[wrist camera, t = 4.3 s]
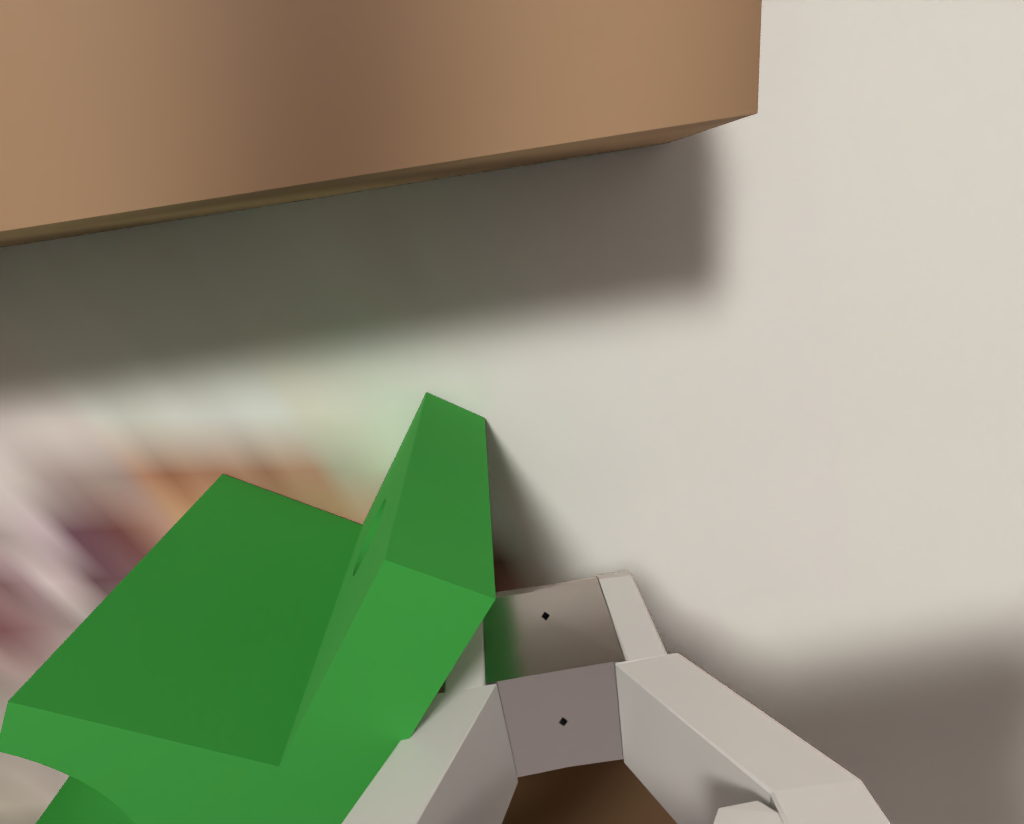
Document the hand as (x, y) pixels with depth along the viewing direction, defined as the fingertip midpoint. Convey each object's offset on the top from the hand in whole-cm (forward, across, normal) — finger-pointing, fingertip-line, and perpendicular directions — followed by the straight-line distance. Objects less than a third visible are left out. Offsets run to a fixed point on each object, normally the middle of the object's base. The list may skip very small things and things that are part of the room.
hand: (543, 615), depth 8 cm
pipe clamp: (+2, +5, +1) cm, 6 cm away
